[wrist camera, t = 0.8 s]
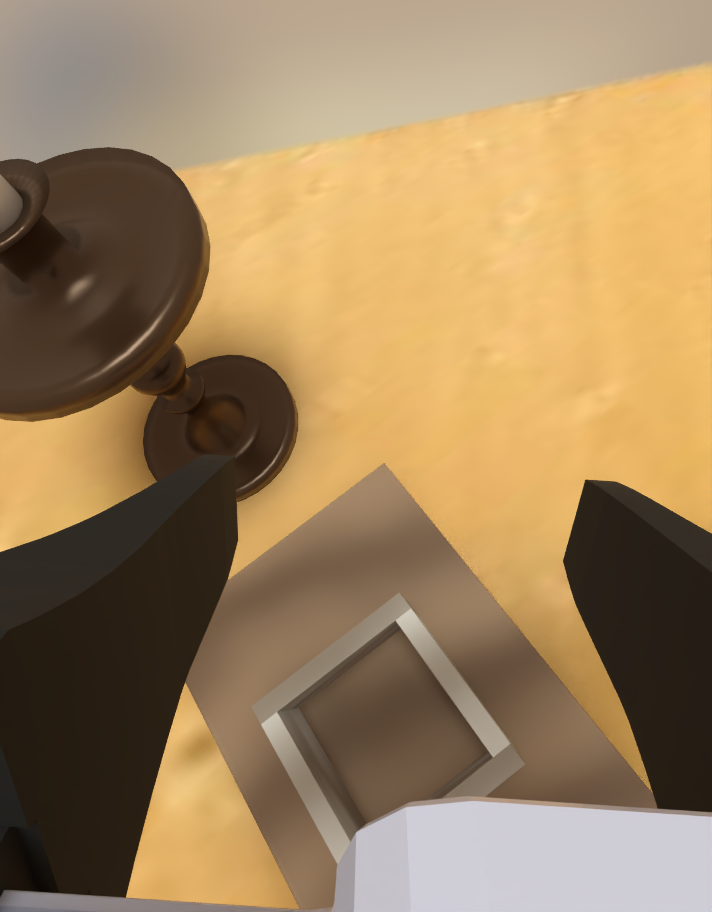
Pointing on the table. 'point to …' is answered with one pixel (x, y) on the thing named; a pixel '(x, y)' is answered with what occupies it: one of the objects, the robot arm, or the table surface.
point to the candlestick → (125, 313)
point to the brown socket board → (383, 688)
